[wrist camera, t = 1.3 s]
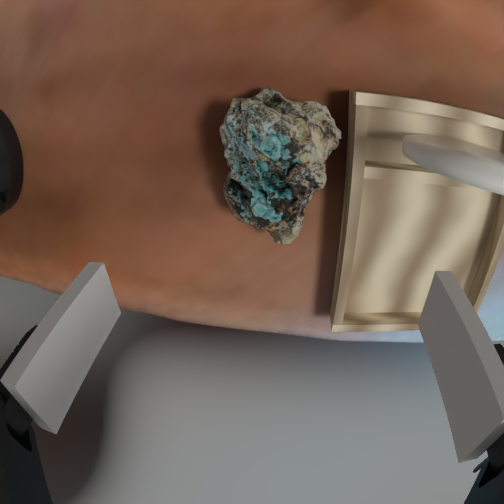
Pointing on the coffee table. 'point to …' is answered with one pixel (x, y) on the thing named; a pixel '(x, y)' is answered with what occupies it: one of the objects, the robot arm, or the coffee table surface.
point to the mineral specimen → (275, 160)
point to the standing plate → (457, 160)
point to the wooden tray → (410, 214)
